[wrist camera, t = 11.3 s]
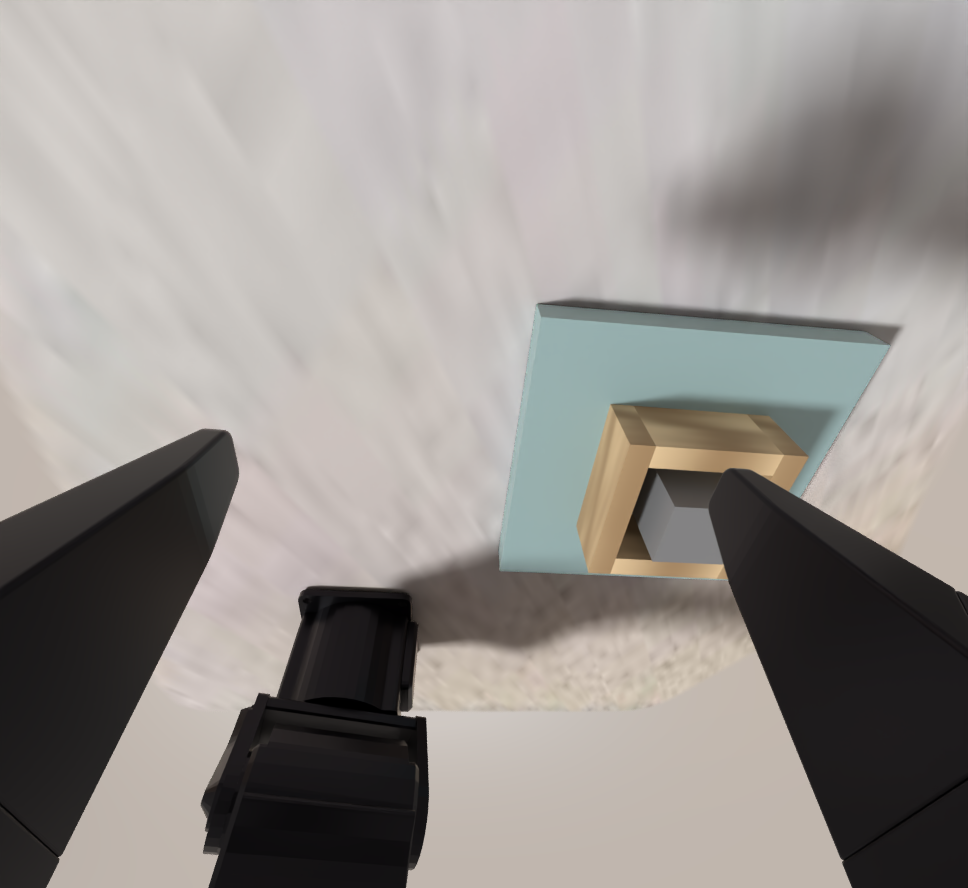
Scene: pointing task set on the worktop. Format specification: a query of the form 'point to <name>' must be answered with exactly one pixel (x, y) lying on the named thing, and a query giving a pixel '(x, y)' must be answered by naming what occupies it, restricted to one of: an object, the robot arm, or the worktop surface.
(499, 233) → the worktop surface
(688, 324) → the post board
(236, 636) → the worktop surface
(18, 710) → the robot arm
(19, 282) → the worktop surface
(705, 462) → the square frame
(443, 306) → the worktop surface
